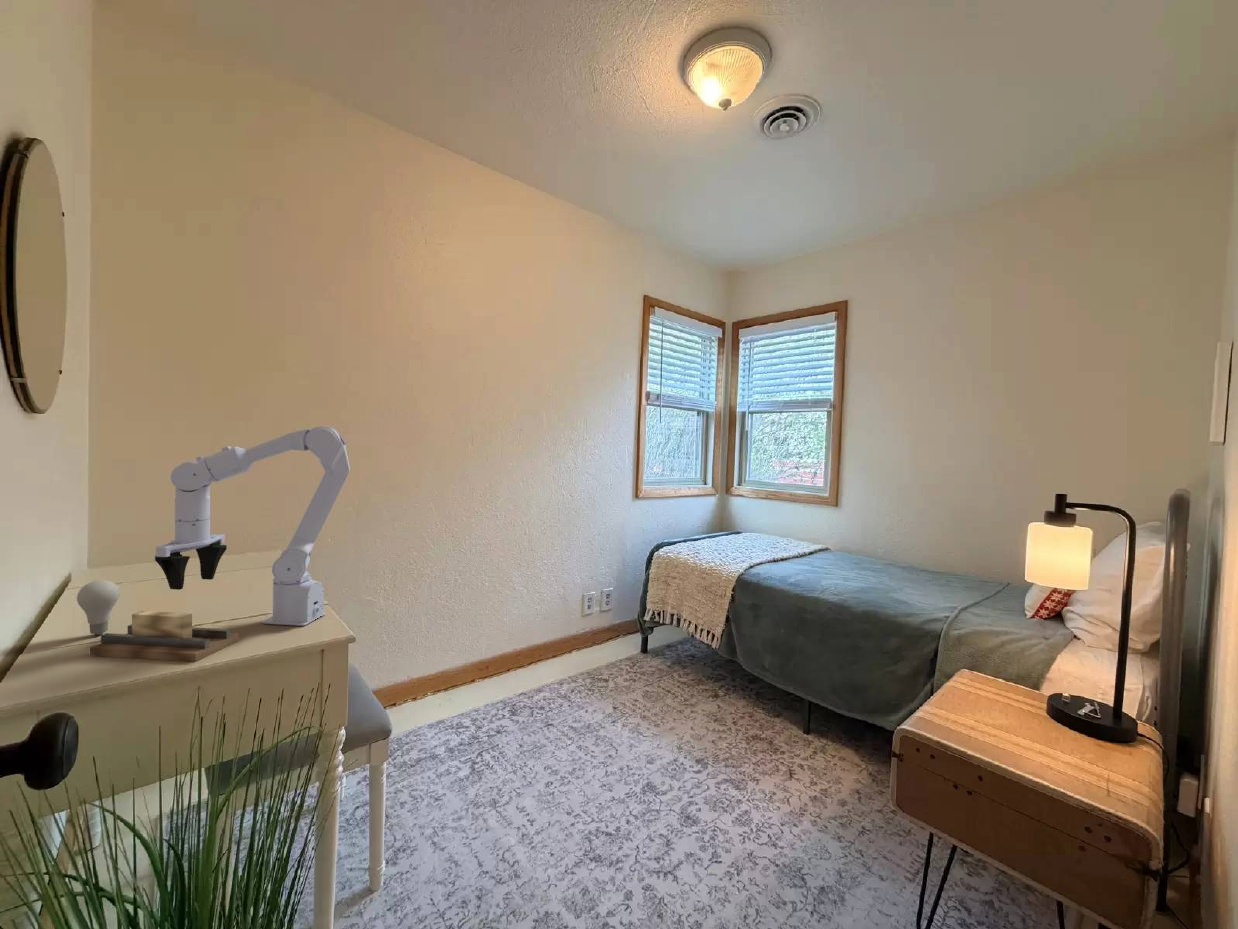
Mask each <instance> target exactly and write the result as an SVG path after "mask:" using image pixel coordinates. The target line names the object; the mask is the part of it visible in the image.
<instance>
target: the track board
mask: <svg viewBox="0 0 1238 929" xmlns="http://www.w3.org/2000/svg"><path fill="white" fill-rule="evenodd" d="M237 642H239V633H238V632H232V630H231V629H229V628H227V629H226V628H213V627H212V628H210V627H195V626H194V627H193V626H192V638H181V637H164V636H146V635H132V623H131V624H128V625H127V633H109V632H107V633H103V634H101V635H100V643H98V644H95V645H92V646H90V647H89V656H91V655H96V656H95V657H107V658H108V657H110V658H112V657H113V658H124V657H125V658H127V659H142V660H143V659H146V660H160V661H162V660H163V661H177V662H179V661H180V662H196V663H197V662H198V661H200V660H202V659H204V658H206V657H208V656H210V655H212V654H215V653H216V652H218V651H221V650H222V649H225V648H227V647H228V646H231V645H232V644H235V643H237ZM125 658H124V659H125Z"/></svg>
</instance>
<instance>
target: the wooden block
mask: <svg viewBox="0 0 1238 929" xmlns="http://www.w3.org/2000/svg"><path fill="white" fill-rule="evenodd" d="M131 624H132V635H146V636H164V637H181V638H192V627H193V613H189V612H187V613H186V612H185V613H184V612H170V611H169V612H168V611H167V612H166V611H154V610H153V611H151V610H141V611H138V612H135V613H132V614H131Z"/></svg>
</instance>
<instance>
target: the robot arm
mask: <svg viewBox="0 0 1238 929" xmlns="http://www.w3.org/2000/svg"><path fill="white" fill-rule="evenodd" d="M289 451H300V452H301V451H302V452H307V451H310V452H311V453H312V454H313V455H315V457H316V458H317V459H319V462H320V464H321V466H322V468H323V469H324V475H323V476H322V478H321V481H320V482H319V485H318V487H316V491H315V492H314V494H313V496H312V498H311V500H310V503H309V504H308V506H307V508H306V510H305V512H304V514H303V516H302V518H301V520H300V523H299V525H298V526H297V529H296V531H295V532H294V535H293V536H292V538H291V540H290V542H289V544H288V545H287V547H286V549H285V550H283V552H281V554H280V556H279V557H278V558H277V559H276V560H275V561H274V562H273V564H272V567H271V572H272V575H273V577H274V578H273V579H272V616H271V617H269V618H267V619H265V620H263V621H262V624H265V625H281V626H285V625H286V626H301V627H303V626H306V625H308V624H310V623H312V622H314V621H315V619H316V620H318V619H319V618H321V617H323V616H325V615H326V611H324V607H325V605H324V604H325V603H324V601H325V599H324V598H325V588H324V585H323V583H322V582H321V581H317V580H314V579H312V575H311V574H310V573H309V571H308V570H307V569H308V568H309V567H310V566H311V563H312V562H311V561H312V555H311V554H312V550H313V549H314V546H315V544H316V543H317V542H316V541H317V540H318V538H319V535H320V533H321V532H322V530H323V528H324V525H325V523H326V521H327V519H328V517H329V515H330V513H331V512H332V510H333V507H334V505H335V503H336V501H337V499H338V497H339V495H340V493H341V490H342V489H343V486H344V485H345V482H346V480H347V479H348V476H349V474H350V471H351V465H350V461H349V457H348V452H347V446H346V442H345V440H344V439H343V436H342V435H341V434H340V433H339V430H337V429H335V428H334V427H332V426H325V425H319V426H315V427H313V428H311V429H310V428H309V429H302V430H298V431H293V432H289V433H287V434H284V435H281V436H279V437H278V436H277V437H276V438H274V439H273V438H272V439H271V440H268V441H266V442H262V443H259V444H257V445H255V446H252V447H249V448H243V447H239V446H232V447H231V446H230V445H227V446H224V447H222V448H221V451H218V452H216V453H212V454H210V455H207V456H204V455H200V456H199V455H198V456H197V457H195V459H196V461H184V462H182V463H181V464H179V465H177V466H175V468H173V469H172V471H171V474H170V480H171V483H172V485H173V486H174V487H175V492H174V493H175V494H174V495H175V498H174V539H171V540H170V542H168V543H166V544H163V545H160V546H156V547H155V550H156V551H155V555H154V561H155V562H156V563H157V564H158V566H160V569H162V571H163V573H164V575H165V578H166V580H167V583H168V586H169V589H170V590H183V588H184V584H185V575H186V574H185V573H186V568H187V565H188V563H189V560H190V556H189V555H183V554H181V553H185V552H190V551H193V550H195V551H196V553H197V557H198V560H199V567H200V576H201V580H209V581H211V580H214V578H215V576H216V575H215V574H216V571H217V568H218V567H219V566H218V565H219V563H220V560H221V559H222V557H223V555H224V553H225V552H226V551H227V549H228V548H227V545H226V544H225V542H226V538H225V537H226V535H225V534H224V533H223V534H222V533H221V534H220V533H219V534H218V533H215V534H211V495H210V494H211V492H210V491H211V488H210V487H211V486H210V485H212V483H220V482H222V481H224V480H227V479H230V478H233V477H236V476H238V475H241V474H243V473H244V474H245V473H247V472H249V471H250V470H251V468H252V466H253V464H254V463H255V462H259V461H261V460H265V459H268V458H272V457H275V456H277V455H280V454H283V453H286V452H289ZM320 616H321V617H320ZM317 618H318V619H317Z"/></svg>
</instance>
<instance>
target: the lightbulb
mask: <svg viewBox="0 0 1238 929" xmlns="http://www.w3.org/2000/svg"><path fill="white" fill-rule="evenodd" d="M120 596H121V590H120V587H119V586H118V585H117V584H116V583H115V582H113V581H111V580H105V579H99V580H93V581H90V582H88V583H86V584H85V585H83V586H82V587H81V588H80V589H79V591H78V593H77V595H76V601H77V604H78V605H79V607H80V608H81V609H82V611H83V612H84V613H85V615H86V619H87V624H89V633H90V634H92V635H95V636H101V635H103V634H105V632H107V631H108V629H109V621H110V619H111V614H112V610H113V608H114V607H115V605H116V604H117V603H118V601H119V599H120Z"/></svg>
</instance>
